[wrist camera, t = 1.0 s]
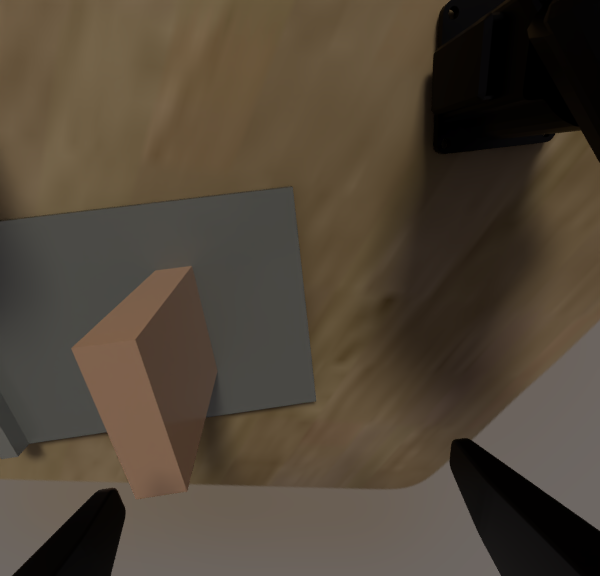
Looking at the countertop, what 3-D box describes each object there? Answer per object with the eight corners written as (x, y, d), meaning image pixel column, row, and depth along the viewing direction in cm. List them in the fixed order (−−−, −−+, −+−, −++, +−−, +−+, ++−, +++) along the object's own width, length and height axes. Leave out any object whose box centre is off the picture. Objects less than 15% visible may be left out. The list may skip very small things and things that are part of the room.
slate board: (291, 186, 17) (294, 188, 16) (314, 393, 22) (318, 411, 21) (-94, 231, 16) (-135, 238, 15) (22, 436, 22) (1, 459, 20)
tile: (192, 265, 18) (135, 339, 10) (217, 370, 20) (186, 491, 13) (153, 270, 18) (67, 348, 10) (184, 375, 20) (133, 499, 13)
